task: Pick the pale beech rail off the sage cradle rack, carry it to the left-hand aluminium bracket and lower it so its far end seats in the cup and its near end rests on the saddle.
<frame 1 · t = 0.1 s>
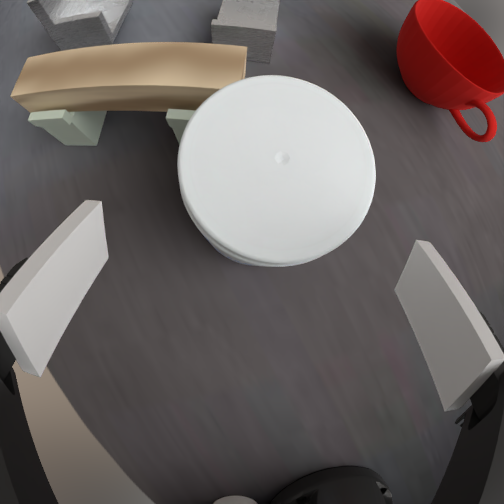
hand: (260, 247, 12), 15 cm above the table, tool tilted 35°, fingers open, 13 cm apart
rail: (126, 90, 22), point 6 cm above the table, touching rack
ceramic cup: (427, 96, 30), on the table
bracket rig: (171, 33, 28), on the table
rack: (144, 119, 28), on the table
supplement tub: (255, 212, 28), on the table
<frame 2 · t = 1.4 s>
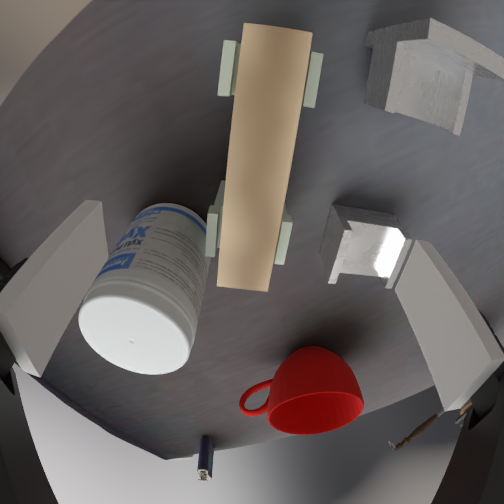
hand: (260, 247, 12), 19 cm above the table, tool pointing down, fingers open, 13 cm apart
flask: (207, 441, 64), on the table
rail: (257, 156, 23), point 6 cm above the table, touching rack
ceramic cup: (296, 359, 46), on the table
bracket rig: (376, 160, 29), on the table
rack: (257, 139, 28), on the table
supplement tub: (172, 238, 34), on the table
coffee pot: (427, 355, 46), on the table
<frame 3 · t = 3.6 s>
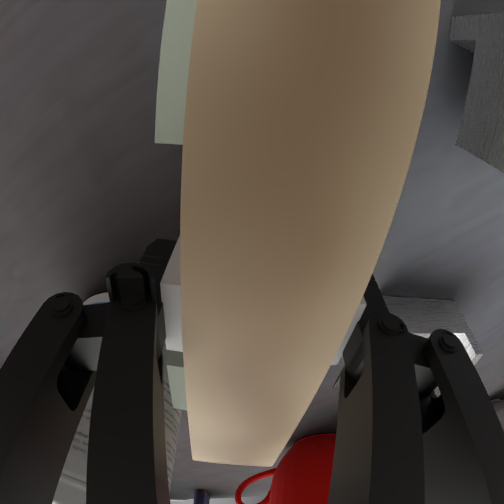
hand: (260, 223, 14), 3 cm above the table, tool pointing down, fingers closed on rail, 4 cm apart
flask: (202, 492, 53), on the table
rail: (259, 267, 11), point 6 cm above the table, touching gripper, rack
ceramic cup: (303, 443, 34), on the table
bracket rig: (448, 230, 17), on the table
rack: (260, 199, 16), on the table
supplement tub: (135, 332, 23), on the table
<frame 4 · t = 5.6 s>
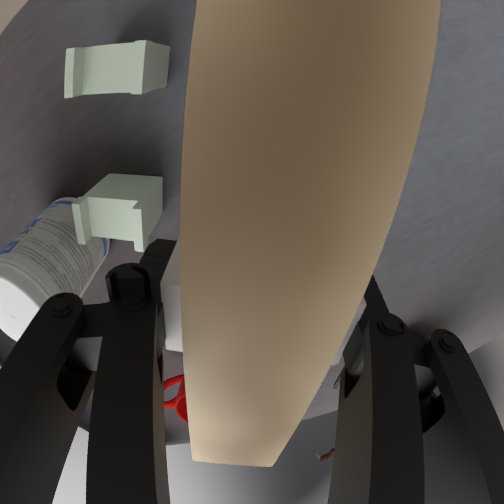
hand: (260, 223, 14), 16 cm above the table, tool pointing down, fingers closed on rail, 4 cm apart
rail: (260, 267, 11), point 20 cm above the table, touching gripper
ceramic cup: (217, 355, 45), on the table
rack: (134, 132, 27), on the table
supplement tub: (79, 230, 33), on the table
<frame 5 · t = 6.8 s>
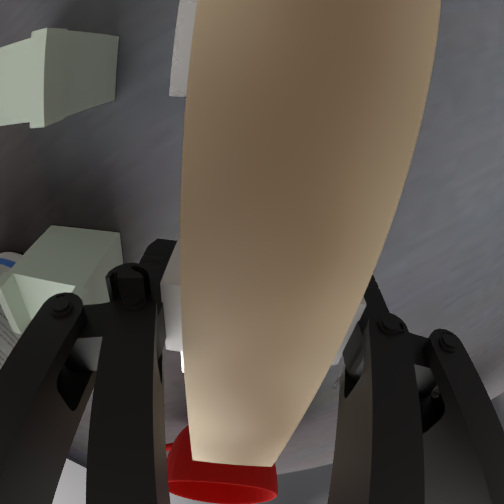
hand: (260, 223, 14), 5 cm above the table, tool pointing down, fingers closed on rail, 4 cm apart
rail: (260, 267, 11), point 8 cm above the table, touching gripper
ceramic cup: (209, 421, 35), on the table
bracket rig: (258, 183, 18), on the table
rack: (76, 169, 18), on the table
supplement tub: (30, 289, 24), on the table
when the fingers open (1 cm above the table, at t = 7.8 s): rail drops 1 cm, resting on bracket rig.
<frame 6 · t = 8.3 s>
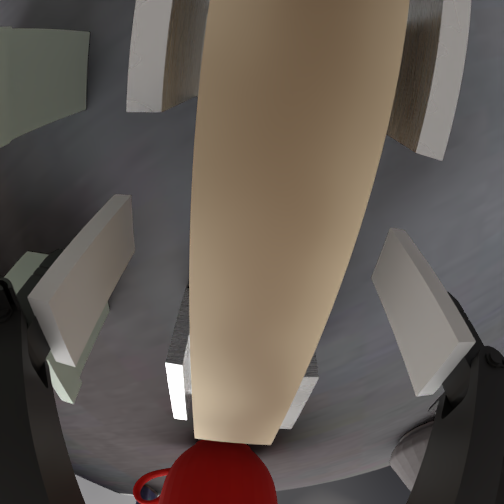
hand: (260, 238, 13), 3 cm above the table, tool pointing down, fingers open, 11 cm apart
flask: (148, 487, 51), on the table
rail: (259, 247, 12), point 3 cm above the table, touching bracket rig
ceramic cup: (206, 446, 32), on the table
bracket rig: (260, 209, 15), on the table
rack: (47, 190, 15), on the table
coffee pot: (391, 442, 33), on the table
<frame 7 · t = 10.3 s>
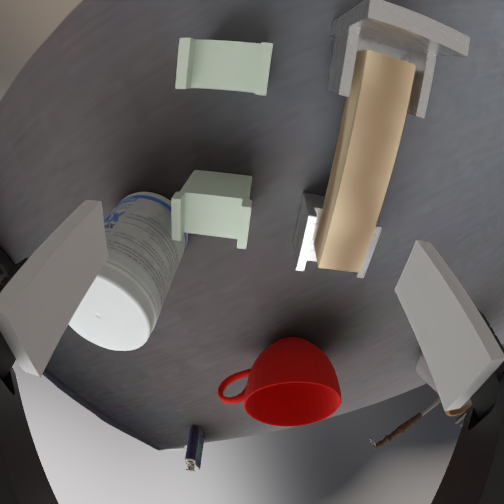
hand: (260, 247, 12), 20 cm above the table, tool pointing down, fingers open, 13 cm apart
flask: (197, 432, 66), on the table
rail: (355, 158, 26), point 3 cm above the table, touching bracket rig
ceramic cup: (277, 350, 46), on the table
bracket rig: (347, 148, 29), on the table
rack: (227, 130, 29), on the table
supplement tub: (151, 226, 36), on the table
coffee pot: (415, 352, 46), on the table
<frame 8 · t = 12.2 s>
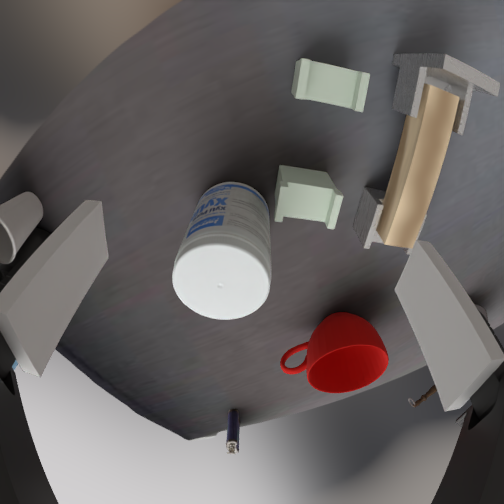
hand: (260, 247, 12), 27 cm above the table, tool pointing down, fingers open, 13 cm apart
flask: (234, 416, 72), on the table
rail: (409, 161, 33), point 3 cm above the table, touching bracket rig
ceramic cup: (327, 326, 52), on the table
bracket rig: (399, 153, 36), on the table
rack: (310, 133, 35), on the table
dixie cup: (31, 207, 41), on the table
supplement tub: (232, 213, 41), on the table
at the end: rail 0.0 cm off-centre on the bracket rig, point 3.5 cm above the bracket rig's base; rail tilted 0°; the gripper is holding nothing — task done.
